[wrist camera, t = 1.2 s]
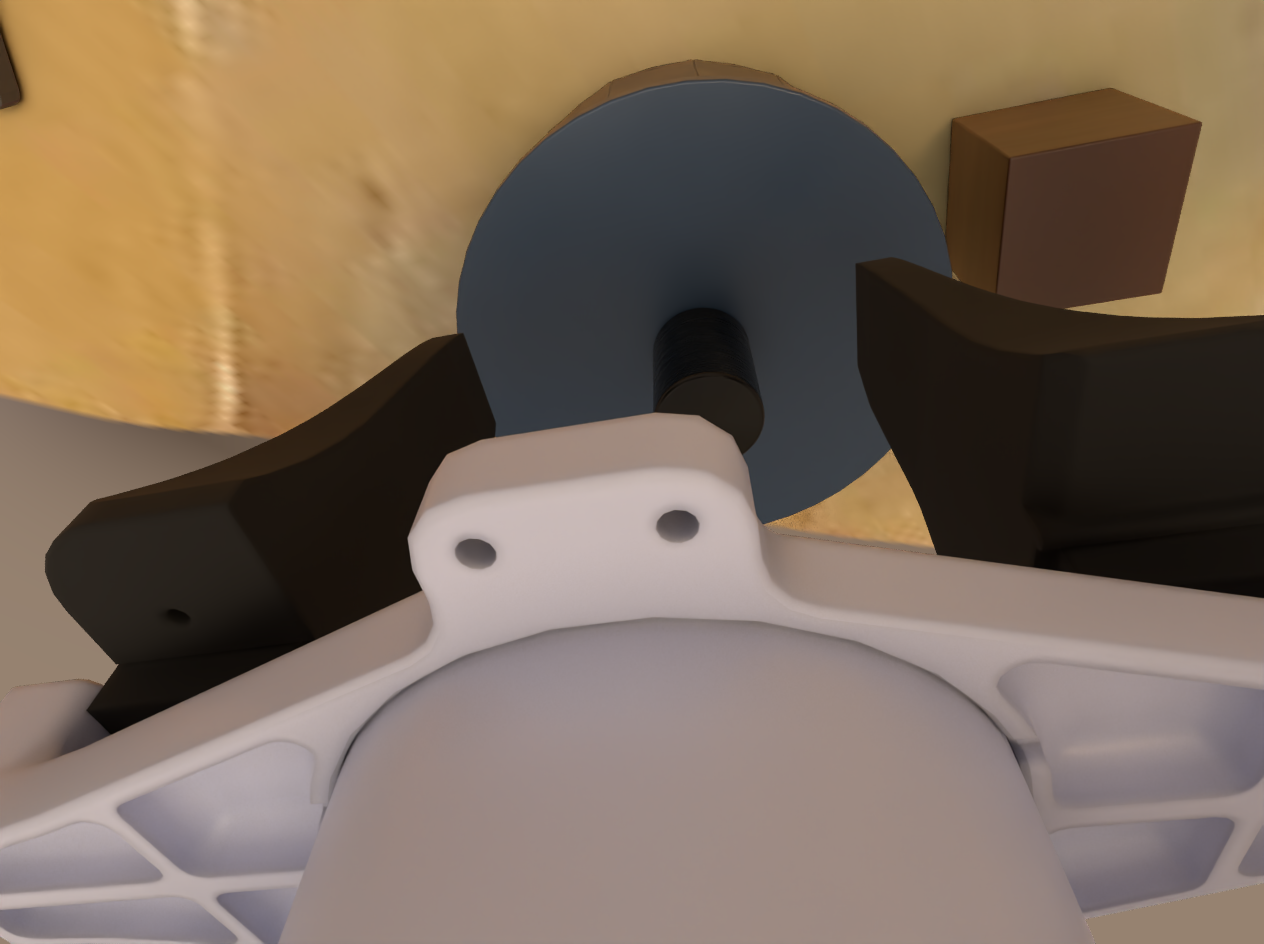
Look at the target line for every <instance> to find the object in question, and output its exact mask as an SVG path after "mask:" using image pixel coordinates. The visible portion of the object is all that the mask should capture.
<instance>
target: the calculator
mask: <svg viewBox="0 0 1264 944" xmlns="http://www.w3.org/2000/svg"><path fill="white" fill-rule="evenodd" d="M19 100H20V94H19V88H18V85H17V82H16V79H15V76H14V73H13V70H12V67H11V64H10V61H9V58H8V55H7V52H6V49H5V46H4V43H3V40H2V37H1V34H0V109H3V108H6V107H9V106H13V105H16V104H17V103H18V101H19Z"/></svg>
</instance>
